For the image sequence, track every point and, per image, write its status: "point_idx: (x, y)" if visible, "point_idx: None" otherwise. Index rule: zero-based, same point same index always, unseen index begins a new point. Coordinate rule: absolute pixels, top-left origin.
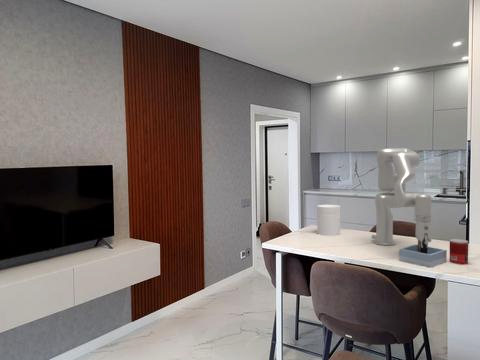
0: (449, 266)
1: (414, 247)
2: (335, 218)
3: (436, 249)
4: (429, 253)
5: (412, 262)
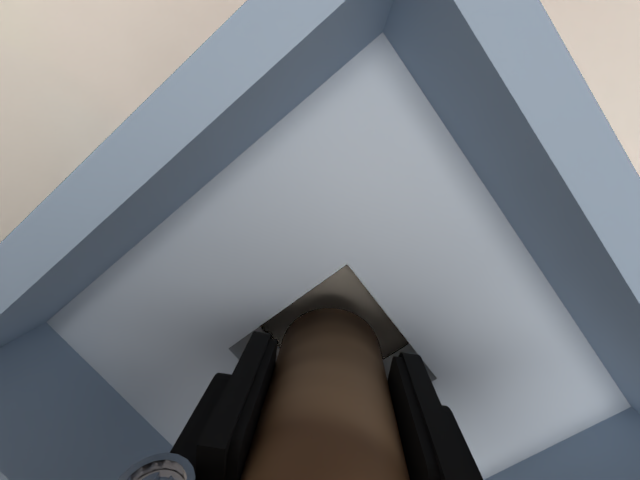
0: (619, 102)
1: (17, 418)
2: None
3: (249, 98)
4: (185, 199)
5: None
